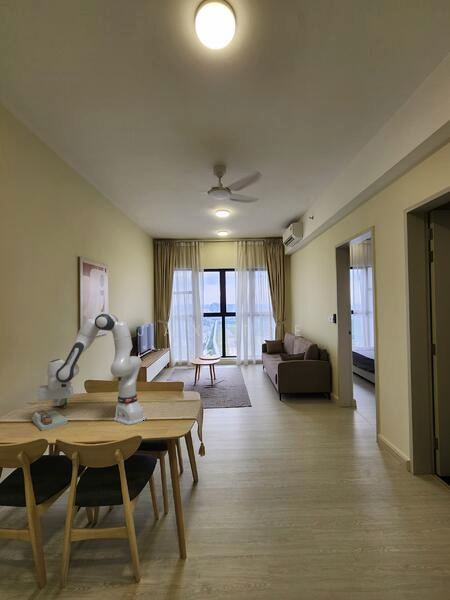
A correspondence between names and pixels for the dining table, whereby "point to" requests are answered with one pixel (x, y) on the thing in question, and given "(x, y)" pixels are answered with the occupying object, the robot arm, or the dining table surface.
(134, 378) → the robot arm
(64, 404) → the food container
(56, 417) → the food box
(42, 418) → the brown long bar
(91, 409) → the dining table surface
